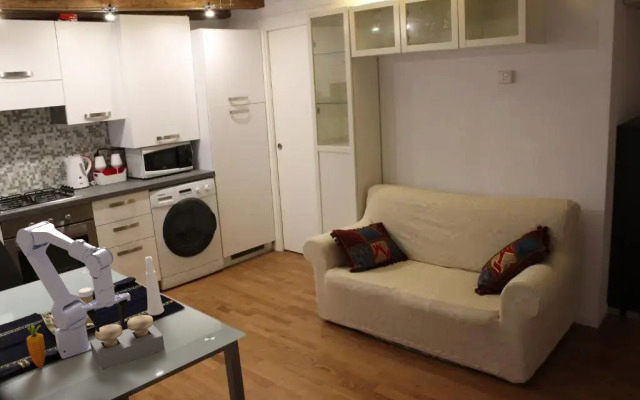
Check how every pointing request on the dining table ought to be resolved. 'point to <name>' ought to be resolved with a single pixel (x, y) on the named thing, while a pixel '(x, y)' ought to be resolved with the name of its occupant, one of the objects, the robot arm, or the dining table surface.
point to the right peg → (140, 325)
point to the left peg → (109, 334)
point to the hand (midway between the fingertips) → (110, 326)
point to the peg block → (127, 348)
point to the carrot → (36, 346)
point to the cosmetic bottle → (152, 289)
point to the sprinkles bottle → (86, 299)
